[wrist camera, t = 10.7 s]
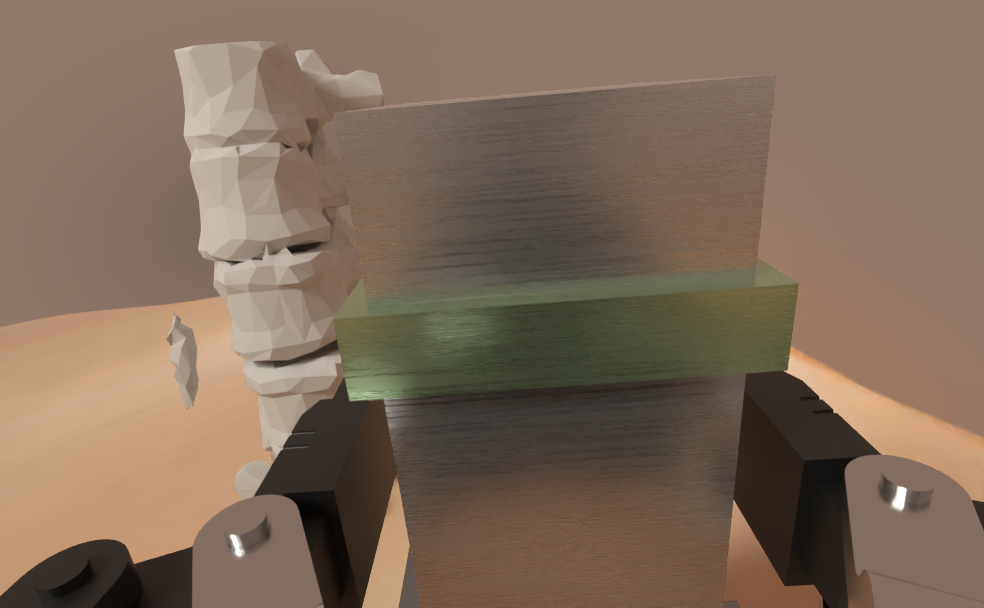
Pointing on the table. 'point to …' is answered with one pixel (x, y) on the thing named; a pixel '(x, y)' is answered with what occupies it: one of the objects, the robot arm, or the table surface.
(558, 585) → the steel column
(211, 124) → the anatomical model
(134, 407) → the table surface
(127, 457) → the table surface
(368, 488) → the robot arm
